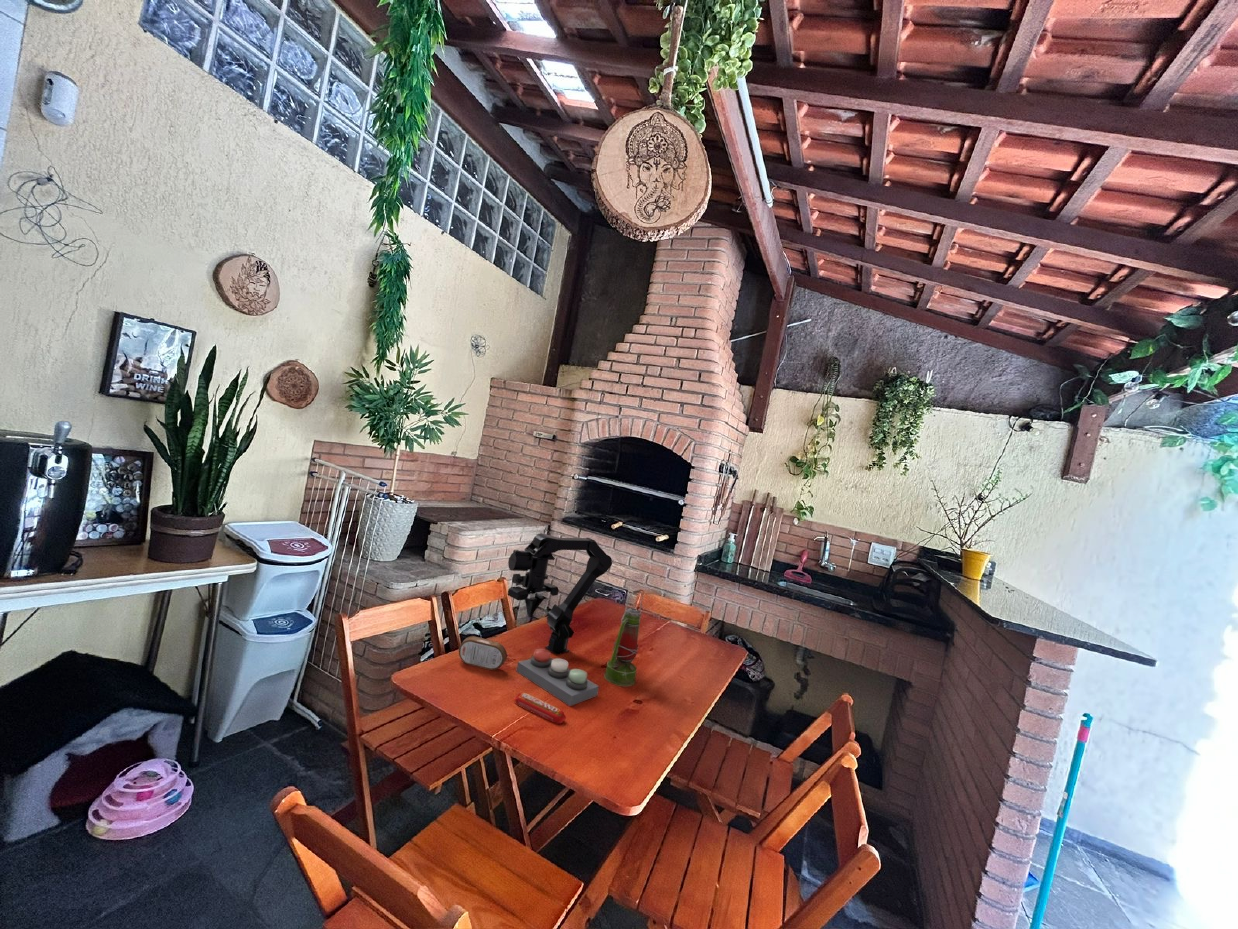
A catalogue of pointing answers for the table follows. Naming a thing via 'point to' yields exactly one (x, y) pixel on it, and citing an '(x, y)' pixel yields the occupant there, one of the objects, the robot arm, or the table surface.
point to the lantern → (625, 649)
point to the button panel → (557, 681)
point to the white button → (559, 665)
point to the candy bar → (540, 708)
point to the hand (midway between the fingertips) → (529, 615)
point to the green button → (578, 676)
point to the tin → (482, 653)
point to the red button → (542, 655)
